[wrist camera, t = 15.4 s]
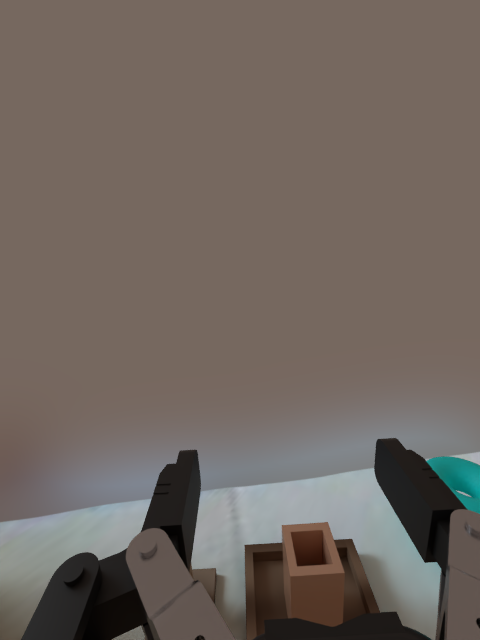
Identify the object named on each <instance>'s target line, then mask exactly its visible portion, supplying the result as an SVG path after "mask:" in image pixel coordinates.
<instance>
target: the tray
mask: <svg viewBox="0 0 480 640" xmlns="http://www.w3.org/2000/svg"><path fill="white" fill-rule="evenodd" d="M334 542H335V545H336V548H337V551H338V554H339V557H340V560H341V563H342V566H343V569H344V572H345V576H344V605H343V623H344V622H346V621H349V620H351V619H353V618H355V617H358V616H360V615H362V614H367V613H380V611H379V608H378V606H377V603H376V600H375V598H374V595H373V592H372V590H371V587H370V585H369V582H368V579H367V577H366V574H365V572H364V569H363V566H362V564H361V561H360V559H359V556H358V553H357V551H356V548H355V545H354V543H353V540H352V539H342V540H334ZM245 581H246V629H247V640H252V639H254V638H255V637H257V636H259V635H261V634H263V633H265V629H264V620H269V619H286V618H288V616H287V609H286V601H285V594H284V573H283V546H282V543H271V544H253V545H245Z"/></svg>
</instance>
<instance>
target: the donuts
mask: <svg viewBox="0 0 480 640" xmlns="http://www.w3.org/2000/svg"><path fill="white" fill-rule="evenodd" d="M426 462H427V463H428V464H429V465H430V466H431V467H432V470H434V471H435V472H436V473H437V474H438V476H439V478H440V479H442V480H443V481H444V483H445V484H446V485H447V486H448V487H449V488H450V490H451V491H452V492H453V493H454V494H455V495H456V497H457V498H458V499H459V500H460V501H461V502H462V503H463V505H464V506H465V507H466V508H467V509H468V510H470V511H474V512H476V513H479V514H480V465H478V464H475V463H473V462H470V461H467V460H464V459H460V458H455V457H436V458H432V459H429V460H428V461H426ZM455 490H457V491H461V492H464V493H466V494H468V495H470V496H471V497H468V496H465V495H463V494H461V493H458V492H457V491H455ZM472 497H473V498H472Z"/></svg>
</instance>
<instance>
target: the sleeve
mask: <svg viewBox="0 0 480 640" xmlns="http://www.w3.org/2000/svg"><path fill="white" fill-rule="evenodd" d="M282 546H283V573H284V594H285V601H286V609H287V616H288V618H299V619H303V620H307V621H311V622H314V623H318V624H322V625H326V626H330V627H334V626H337V625H340V624H342V623H343V605H344V576H345V572H344V569H343V566H342V563H341V560H340V557H339V554H338V551H337V548H336V545H335V542H334V539H333V536H332V533H331V530H330V527H329V524H328V522H325V523H310V524H295V525H282Z"/></svg>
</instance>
